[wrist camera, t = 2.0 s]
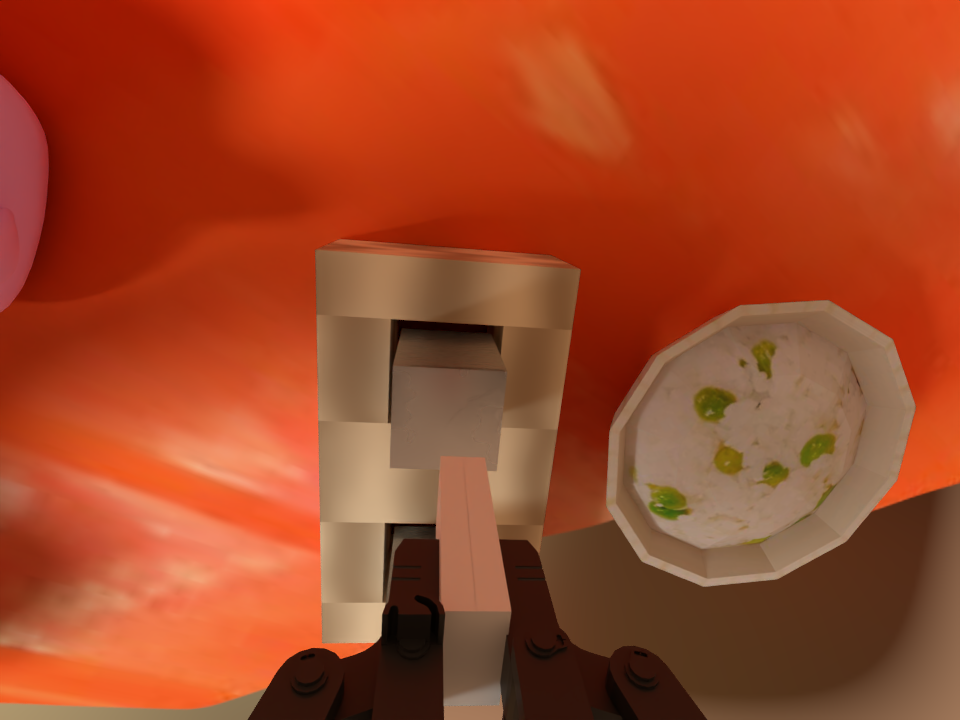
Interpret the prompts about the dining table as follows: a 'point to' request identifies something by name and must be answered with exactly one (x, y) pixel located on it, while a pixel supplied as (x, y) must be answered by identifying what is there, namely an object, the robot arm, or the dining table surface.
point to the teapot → (20, 190)
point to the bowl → (758, 441)
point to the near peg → (446, 398)
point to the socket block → (368, 401)
